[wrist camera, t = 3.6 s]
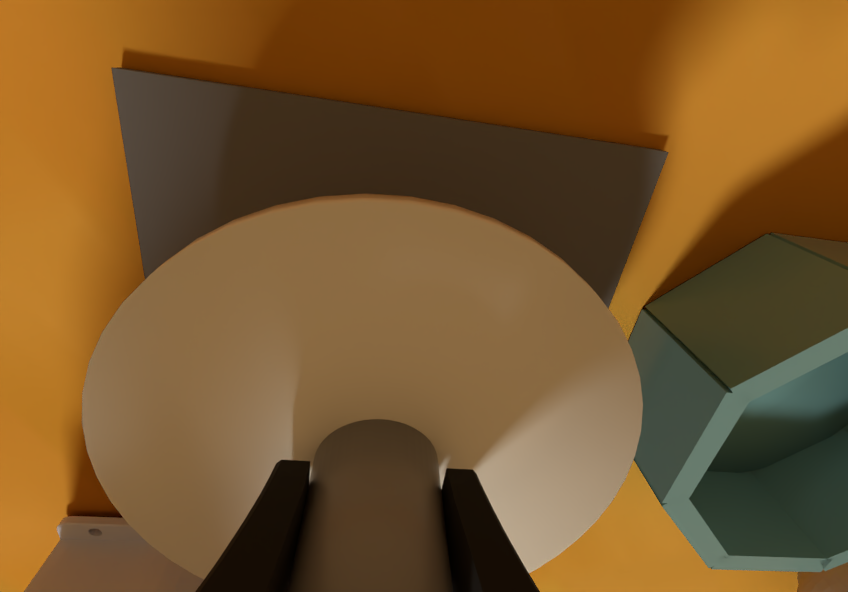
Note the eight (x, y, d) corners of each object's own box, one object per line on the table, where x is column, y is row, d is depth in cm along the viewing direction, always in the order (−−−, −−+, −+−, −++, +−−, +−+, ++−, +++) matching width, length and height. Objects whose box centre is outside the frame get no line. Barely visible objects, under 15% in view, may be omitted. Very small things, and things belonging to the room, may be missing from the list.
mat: (181, 475, 18) (177, 483, 18) (120, 67, 11) (111, 67, 11) (532, 492, 20) (534, 499, 20) (660, 150, 13) (668, 152, 13)
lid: (141, 590, 13) (31, 820, 9) (32, 147, 8) (-395, 243, 3) (550, 597, 15) (609, 796, 11) (722, 236, 9) (988, 373, 5)
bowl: (576, 462, 19) (624, 566, 15) (679, 220, 14) (791, 281, 10) (800, 475, 20) (897, 574, 16) (966, 258, 15) (1164, 325, 12)
